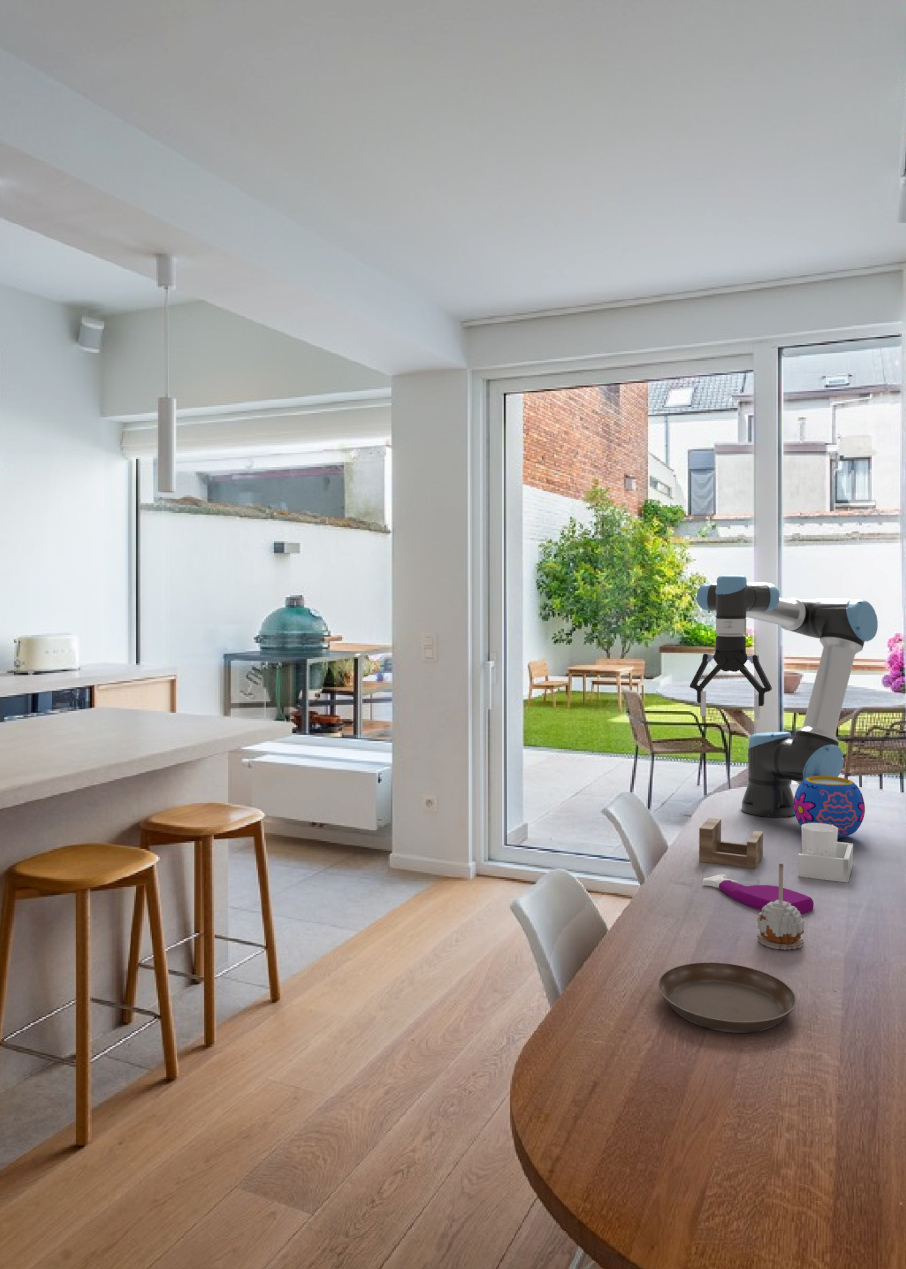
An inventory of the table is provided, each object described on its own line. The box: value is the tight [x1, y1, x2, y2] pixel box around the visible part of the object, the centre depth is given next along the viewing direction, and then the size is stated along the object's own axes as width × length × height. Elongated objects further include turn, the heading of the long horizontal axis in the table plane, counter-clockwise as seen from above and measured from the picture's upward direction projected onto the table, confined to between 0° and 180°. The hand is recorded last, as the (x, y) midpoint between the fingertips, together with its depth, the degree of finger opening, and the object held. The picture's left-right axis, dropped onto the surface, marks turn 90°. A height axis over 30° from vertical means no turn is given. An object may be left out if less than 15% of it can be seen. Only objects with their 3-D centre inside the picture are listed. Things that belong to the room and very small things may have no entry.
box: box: [797, 841, 854, 883], centre depth 217 cm, size 15×10×5 cm
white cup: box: [800, 823, 838, 858], centre depth 217 cm, size 8×8×10 cm
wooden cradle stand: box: [698, 817, 764, 869], centre depth 226 cm, size 11×13×8 cm
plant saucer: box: [657, 962, 797, 1034], centre depth 147 cm, size 21×21×3 cm
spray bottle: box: [702, 873, 815, 915], centre depth 199 cm, size 3×11×24 cm
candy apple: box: [756, 862, 805, 951], centre depth 172 cm, size 8×8×15 cm
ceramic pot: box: [793, 776, 866, 840], centre depth 246 cm, size 18×18×15 cm
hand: (730, 717), depth 243 cm, fingers open, 13 cm apart
